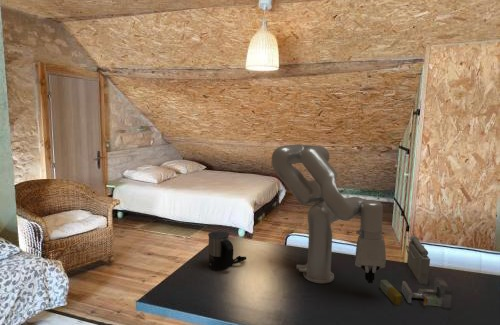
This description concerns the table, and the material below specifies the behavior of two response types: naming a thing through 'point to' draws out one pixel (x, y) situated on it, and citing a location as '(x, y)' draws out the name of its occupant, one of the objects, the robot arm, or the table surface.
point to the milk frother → (221, 251)
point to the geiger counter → (418, 260)
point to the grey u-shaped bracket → (439, 294)
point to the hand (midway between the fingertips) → (369, 281)
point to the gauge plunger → (409, 294)
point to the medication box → (390, 292)
